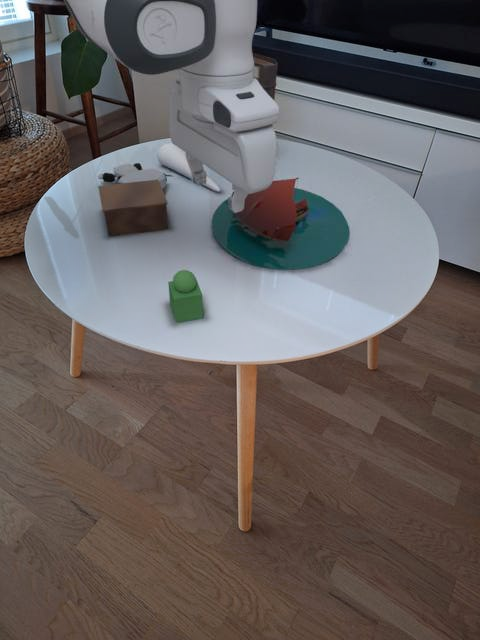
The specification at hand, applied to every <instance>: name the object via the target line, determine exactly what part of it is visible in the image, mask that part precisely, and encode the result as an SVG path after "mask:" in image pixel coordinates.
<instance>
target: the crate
mask: <svg viewBox="0 0 480 640" xmlns="http://www.w3.org/2000/svg"><path fill="white" fill-rule="evenodd" d="M97 188H98V193H99V198H100V204H101V210H102V213H104V219H105V225H106V230H107V235H108V237H118V236H124V235H125V236H126V235H132V234H140V233H148V232H156V231H163V230H169V218H168V205H169V202H168V200H167V198H166V195H165V193H164V189H162V187H161V185H160V182H159V180H149V181H139V182H130V183H120V184H118V183H113V184H111V183H110V184H103V185H98V186H97Z"/></svg>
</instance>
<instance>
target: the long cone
mask: <svg viewBox="0 0 480 640" xmlns="http://www.w3.org/2000/svg"><path fill="white" fill-rule="evenodd" d="M156 157H157V161H158V162H159V163H160V164H161V165H162V166H164V167H166V168H169V169H170V170H173V171H174V172H176V173H178V174H180V175H182V176H184V177H186V178H188V179H190V180H191V171H190V168H189V165H188V162H187V160H186V152H185V151H183V150H182V149H180V148H179V147H177V146H176V145H174V144H173V143H172V142H167V143H165V144H163V145H162V146H160V148H159V149H158V151H157V155H156ZM206 179H207V181H206V183H205V184H203V185H202V186H204V187H205V188H208V189H209V190H212V191H213V192H216V193H220V192H221V187H219V185H218V184H217V183H216V182H215V181H214V180H213V179H212V178H210V176H209V175H208V174H207V177H206Z"/></svg>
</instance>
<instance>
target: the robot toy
mask: <svg viewBox="0 0 480 640" xmlns="http://www.w3.org/2000/svg"><path fill="white" fill-rule="evenodd" d="M174 176H175V175H174V174H166V173H164V172H162V171H160V170H158V169H156V168H144V169H143V167H142V165H141V163H140V162H136V163H133V164H131V163H124V164H120V165H118V166H114V167H113V173H110V172H104V173H100V174H99V175H97V179H98V180H103V182H104V183H110V184H111V183H114V182H116V183H117V184H120V183H130V182H139V181H149V180H159V182H160V185H161V187H162V190H164V188H166V186H167V182H168V177H171V178H173V177H174Z"/></svg>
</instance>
